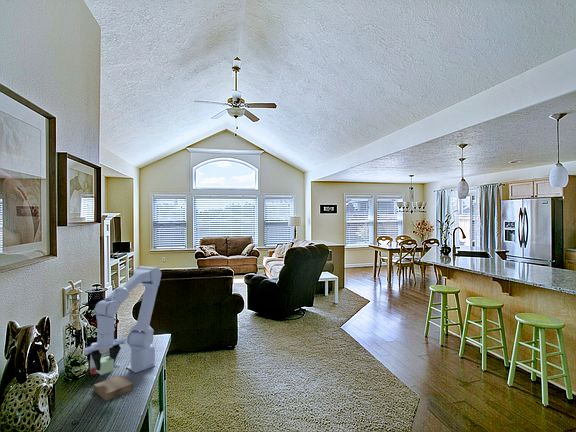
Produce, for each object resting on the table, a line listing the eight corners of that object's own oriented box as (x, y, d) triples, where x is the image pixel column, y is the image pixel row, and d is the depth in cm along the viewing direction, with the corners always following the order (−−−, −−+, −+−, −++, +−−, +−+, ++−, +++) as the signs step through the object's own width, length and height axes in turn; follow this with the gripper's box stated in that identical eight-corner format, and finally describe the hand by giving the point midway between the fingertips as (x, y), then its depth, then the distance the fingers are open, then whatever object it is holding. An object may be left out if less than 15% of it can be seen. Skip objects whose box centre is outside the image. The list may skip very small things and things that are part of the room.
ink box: (90, 375, 139) (91, 347, 139) (89, 370, 143) (90, 343, 143) (113, 370, 144) (114, 343, 144) (112, 366, 148) (112, 339, 148)
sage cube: (108, 367, 132) (108, 355, 132) (113, 370, 129) (113, 359, 129) (96, 371, 129) (96, 359, 129) (101, 375, 126) (101, 363, 126)
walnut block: (120, 382, 135) (120, 375, 135) (132, 391, 129) (133, 383, 129) (93, 392, 127) (94, 384, 127) (105, 402, 121) (105, 393, 121)
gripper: (89, 339, 121) (88, 377, 121) (129, 329, 132) (128, 364, 132) (81, 335, 125) (81, 371, 125) (121, 325, 136) (120, 358, 136)
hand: (105, 367), depth 129 cm, fingers closed on sage cube, 4 cm apart
